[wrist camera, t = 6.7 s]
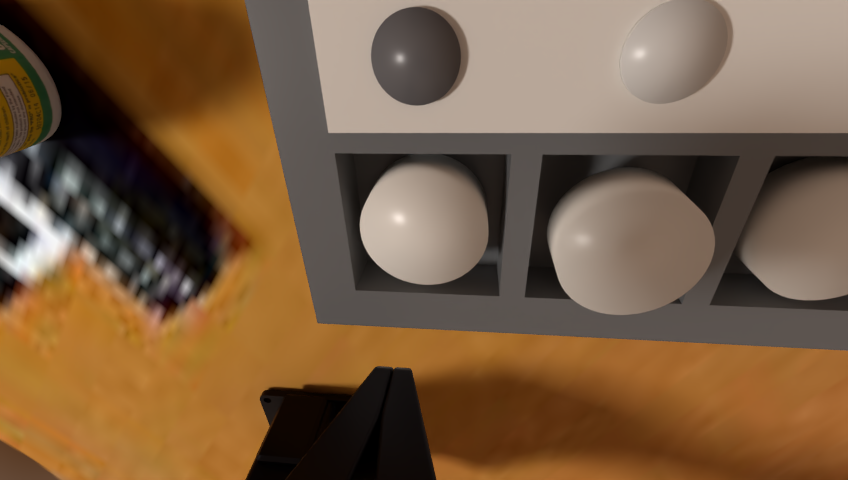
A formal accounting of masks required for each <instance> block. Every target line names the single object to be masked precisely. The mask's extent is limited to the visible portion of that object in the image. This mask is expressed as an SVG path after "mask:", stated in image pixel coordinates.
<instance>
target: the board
mask: <svg viewBox="0 0 848 480" xmlns="http://www.w3.org/2000/svg"><path fill="white" fill-rule="evenodd" d="M245 4H246V9H247V13H248V18H249V22H250V26H251V31H252V35H253V40H254V44H255V48H256V53H257V57H258V62H259V66H260V71H261V75H262V79H263V84H264V88H265V93H266V97H267V101H268V106H269V110H270V115H271V119H272V124H273V128H274V132H275V137H276V141H277V146H278V150H279V154H280V159H281V163H282V168H283V172H284V177H285V181H286V185H287V190H288V194H289V199H290V203H291V207H292V212H293V216H294V221H295V225H296V230H297V234H298V238H299V243H300V247H301V252H302V256H303V260H304V265H305V269H306V274H307V278H308V283H309V287H310V291H311V296H312V300H313V305H314V309H315V313H316V318H317V322H318V323H323V324H342V325H362V326H381V327H401V328H420V329H440V330H459V331H479V332H498V333H518V334H537V335H557V336H576V337H596V338H615V339H635V340H654V341H674V342H693V343H712V344H732V345H751V346H771V347H790V348H810V349H829V350H848V294H847V295H844V296H840V297H836V298H830V299H824V300H796V299H791V298H787V297H784V296H781V295H779V294H777V293H774V292H773V291H771V290H770V289H769V288H767V287H766V286H765V285H764V284H763V283H762V282H761V281H760V280H759V279H758V278H757V277H756V276H755V275H754V274H753V273H752V272H751V271H750V270H749V269H748V268H747V267H746V265H745V264H744V263H743V262H742V261H741V260H740V259H739V258H738V257H737V256H736V255H735V254H734V253H733V250H734V248H735V246H736V244H737V241H738V239H739V237H740V235H741V232H742V230H743V228H744V226H745V223H746V221H747V219H748V216H749V214H750V212H751V210H752V207H753V205H754V203H755V201H756V198H757V196H758V194H759V192H760V189H761V187H762V185H763V182H764V180H765V178H766V176H767V174H769V173H770V172H772V171H774V170H776V169H777V168H780V167H782V166H784V165H786V164H789V163H792V162H794V161H797V160H801V159H805V158H809V157H815V156H842V157H847V158H848V0H245ZM413 154H440V155H444V156H447V157H450V158H453V159H455V160H457V161H459V162H460V163H462V164H463V165H465V166H466V167H467V168H468V169H469V170H471V171H472V173H473V174H474V175H475V176H476V177H477V179H478V180H479V182H480V183H481V185H482V187H483V189H484V192H485V196H486V201H487V213H488V234H489V235H488V243H487V246H486V249H485V251H484V254H483V256H482V257H481V259H480V260H479V262H478V263H477V264H476V265H475V266H474V267H473V268H472V269H471V270H470V271H469V272H467V273H466V274H464V275H463V276H461V277H459V278H457V279H455V280H452V281H449V282H446V283H442V284H434V285H422V284H415V283H410V282H406V281H403V280H401V279H398V278H396V277H394V276H392V275H390V274H389V273H387V272H386V271H384V270H383V269H382V268H381V267H379V266H378V265H377V264H376V263H375V262H374V260H373V259H372V258H371V257H370V255H369V254H368V252H367V250H366V249H365V247H364V244H363V241H362V238H361V233H360V217H361V213H362V210H363V207H364V205H365V203H366V201H367V199H368V197H369V195H370V193H371V191H372V189H373V187H374V185H375V183H376V181H377V179H378V178H379V176H380V175H381V174H382V172H383V171H384V170H385V169H386V168H387V167H388V166H389V165H391V164H392V163H394V162H395V161H397V160H399V159H401V158H403V157H406V156H409V155H413ZM622 167H635V168H643V169H648V170H651V171H654V172H657V173H659V174H661V175H663V176H665V177H666V178H667V179H669V180H670V181H671V182H672V183H673V184H674V185H675V186H676V187H678V188H679V189H680V190H681V191H682V192H683V193H684V194H685V195H686V196H687V197H688V198H689V199H690V200H691V201H692V202H693V203H694V204H695V205H696V206H697V207H698V208H699V209H700V210H701V211H702V212H703V213H704V214H705V215H706V216H707V218H708V219H709V221H710V223H711V225H712V228H713V231H714V236H715V248H714V254H713V257H712V260H711V263H710V265H709V267H708V269H707V270H706V272H705V273H704V275H703V276H702V278H701V279H700V280H699V281H698V282H697V283H696V285H695V286H693V287H692V288H691V289H690V290H689V291H688V292H686V293H685V294H684V295H682V296H681V297H680V298H678V299H676V300H675V301H673V302H671V303H669V304H667V305H665V306H662V307H660V308H657V309H654V310H651V311H647V312H643V313H638V314H630V315H611V314H604V313H599V312H596V311H593V310H590V309H587V308H585V307H583V306H581V305H580V304H578V303H576V302H575V301H574V300H573V299H571V298H570V297H569V296H568V294H567V293H566V292H565V291H564V289H563V288H562V286H561V284H560V282H559V280H558V276H557V273H556V270H555V266H554V263H553V260H552V256H551V253H550V249H549V246H548V242H547V226H548V222H549V219H550V216H551V213H552V211H553V209H554V208H555V206H556V204H557V203H558V202H559V200H560V199H561V198H562V197H563V195H564V194H565V193H566V192H567V191H568V190H570V189H571V188H572V187H573V186H574V185H576V184H577V183H579V182H580V181H582V180H584V179H585V178H587V177H589V176H591V175H594V174H596V173H599V172H602V171H605V170H609V169H614V168H622Z"/></svg>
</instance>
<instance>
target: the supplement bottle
mask: <svg viewBox="0 0 848 480" xmlns="http://www.w3.org/2000/svg"><path fill="white" fill-rule="evenodd" d="M60 120H61V102H60V97H59V94H58V91H57V88H56V85H55V83H54V81H53V79H52V77H51V75H50V73H49V72H48V70H47V68H46V67H45V65H44V64H43V63H42V61H41V60H40V59H39V58H38V56H37V55H36V54H35V53H34V52H33V51H32V50H31V49H30V48H29V47H28V46H27V45H26V44H25V43H24V42H23V41H22V40H21V39H20V38H19V37H17V36H16V35H15V34H13V33H12V32H11V31H9V30H8V29H7V28H6V27H4V26H2V25H1V24H0V158H1V157H4V156H6V155H9V154H11V153H14V152H17V151H20V150H23V149H26V148H28V147H31V146H33V145H36V144H39V143H41V142H43V141H45V140H46V139H48V138H49V137H50V136H52V135H53V133H54V132H55V131H56V130H57V128H58V126H59V123H60Z"/></svg>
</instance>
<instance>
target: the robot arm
mask: <svg viewBox="0 0 848 480" xmlns="http://www.w3.org/2000/svg"><path fill="white" fill-rule="evenodd" d="M260 401H261V404H262V407H263V409H264V412H265V415H266V417H267V420H268V422H269V425H270V427H269V429H268V432H267V434H266V436H265V438H264V440H263V442H262V444H261V447H260V449H259V451H258V453H257V455H256V458H255V460H254V463H253V465H252V467H251V469H250V471H249V473H248V475H247V478H246V480H436V476H435V471H434V467H433V462H432V458H431V453H430V449H429V444H428V440H427V436H426V431H425V427H424V422H423V418H422V413H421V409H420V404H419V400H418V395H417V391H416V387H415V382H414V378H413V373H412V370H411V369H410V368H398V367H397V368H395V369H393V368H392V367H382V366H377V367H375V368H374V369H373V371H372V372H371V373H370V374H369V376H368V377H367V378H366V379H365V381H364V382H363V383H362V384H361V386H360V387H359V388H358V389H357V391H356V392H355V393H354V394H353V396H346V395H332V394H318V393H304V392H289V391H275V390H265V391H263V393H262V395H261V397H260Z"/></svg>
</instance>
